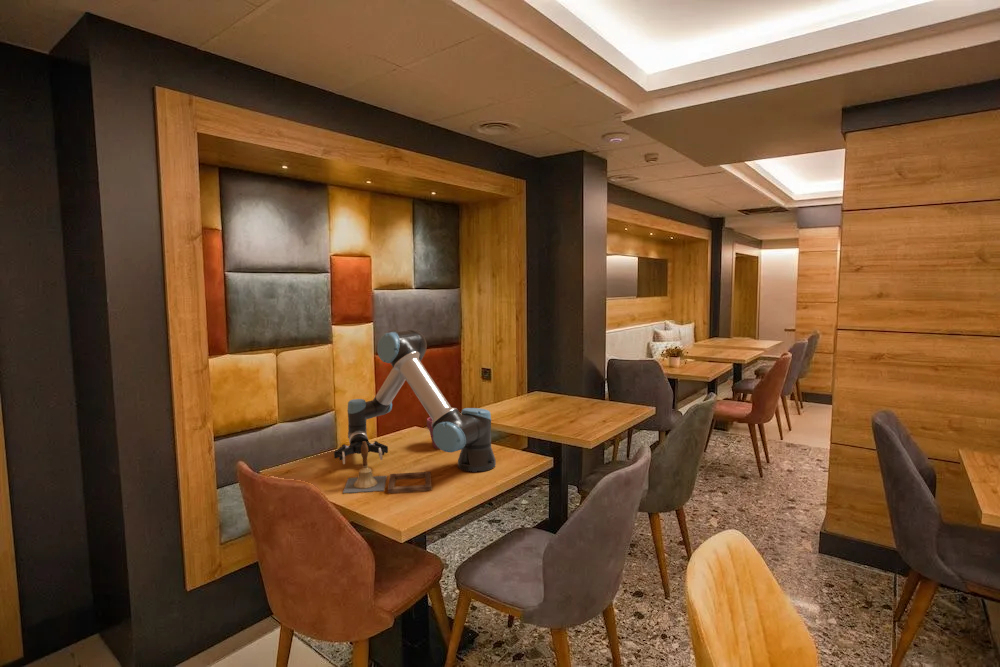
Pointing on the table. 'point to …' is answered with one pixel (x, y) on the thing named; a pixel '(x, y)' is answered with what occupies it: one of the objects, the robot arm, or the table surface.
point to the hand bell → (365, 471)
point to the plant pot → (431, 431)
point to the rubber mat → (379, 487)
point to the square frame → (408, 476)
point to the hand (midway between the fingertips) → (362, 458)
